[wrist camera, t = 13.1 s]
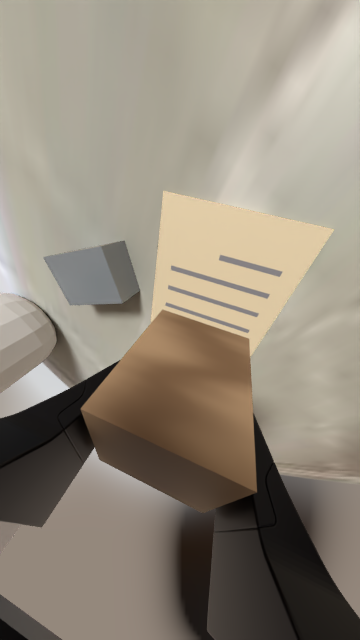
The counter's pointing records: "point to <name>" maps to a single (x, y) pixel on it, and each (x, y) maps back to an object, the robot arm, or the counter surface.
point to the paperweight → (95, 274)
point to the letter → (230, 264)
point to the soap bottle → (22, 338)
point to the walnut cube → (180, 413)
